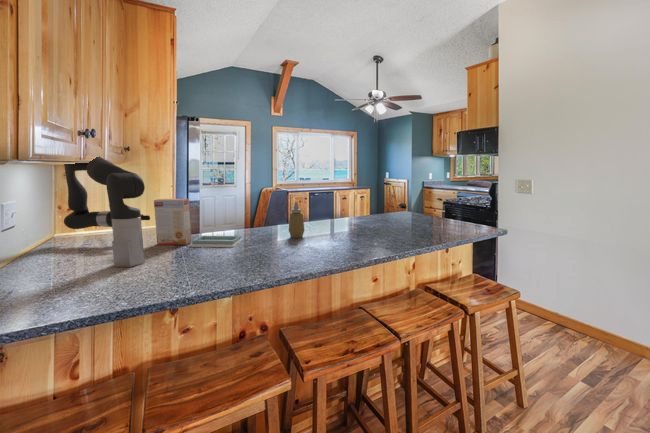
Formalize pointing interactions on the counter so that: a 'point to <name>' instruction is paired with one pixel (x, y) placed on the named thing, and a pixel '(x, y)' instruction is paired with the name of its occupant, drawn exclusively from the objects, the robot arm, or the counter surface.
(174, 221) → the cracker box
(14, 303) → the counter surface
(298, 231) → the squeeze bottle
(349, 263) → the counter surface
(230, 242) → the docking plate
